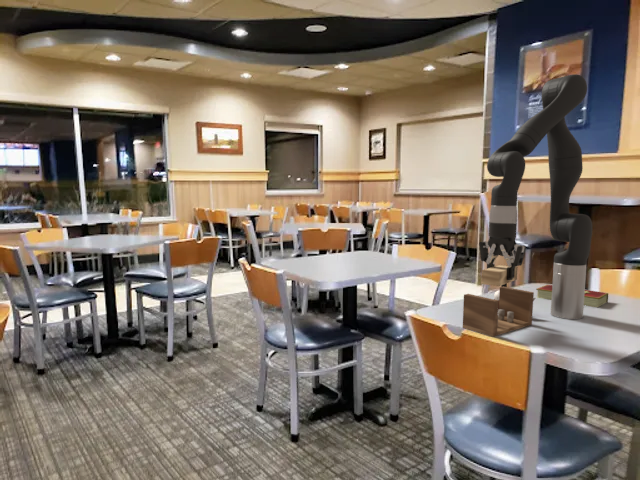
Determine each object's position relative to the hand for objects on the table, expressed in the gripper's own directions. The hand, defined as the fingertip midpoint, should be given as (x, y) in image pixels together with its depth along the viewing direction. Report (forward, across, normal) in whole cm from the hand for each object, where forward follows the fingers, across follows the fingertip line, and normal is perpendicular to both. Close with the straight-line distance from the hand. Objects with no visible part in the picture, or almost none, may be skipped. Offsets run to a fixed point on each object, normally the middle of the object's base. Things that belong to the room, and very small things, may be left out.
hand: (500, 277), depth 132 cm
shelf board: (+1, 0, 0) cm, 1 cm away
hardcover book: (+15, -4, +53) cm, 55 cm away
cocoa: (+15, -9, +18) cm, 25 cm away
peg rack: (+15, 0, 0) cm, 15 cm away
